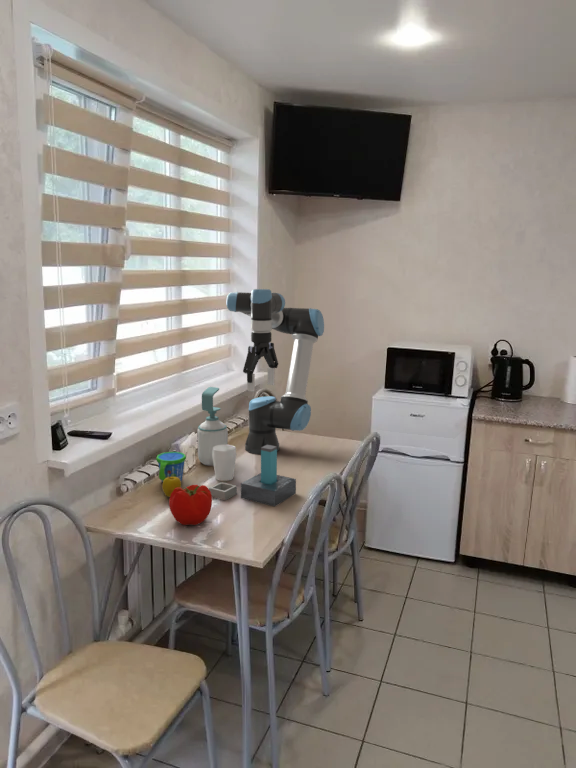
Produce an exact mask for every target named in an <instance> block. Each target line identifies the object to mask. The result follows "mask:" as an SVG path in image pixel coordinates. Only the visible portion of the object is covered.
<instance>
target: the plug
mask: <svg viewBox="0 0 576 768" xmlns="http://www.w3.org/2000/svg"><path fill="white" fill-rule="evenodd" d="M277 466H278V451H277V446H272V445H265V446H263V447H261V454H260V473H261V483H265V484H269V485H272V484H274V483H275V482H277V475H278V472H277V471H278V468H277Z"/></svg>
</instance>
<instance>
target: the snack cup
mask: <svg viewBox="0 0 576 768" xmlns="http://www.w3.org/2000/svg"><path fill="white" fill-rule="evenodd" d="M186 459H187V456H186V454H185V453H184V452H179V451H165V452H161V453H159V454H157V455H156V462H157V464H158V469H159V470H158V471H159V472H158V479H159V480H160V481H161V483H162V482H163V481H164V479H165V478H167V477H168V476H169V477H178V478H179V479H180V481H181V482H182V481H183V477H184V476H183V475H184V469H185V468H184V467H185V461H186Z"/></svg>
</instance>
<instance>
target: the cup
mask: <svg viewBox="0 0 576 768" xmlns="http://www.w3.org/2000/svg"><path fill="white" fill-rule="evenodd" d="M212 457H213V464H214V466H213V468H214V476H215V479H216V480H218V481H220V482H226V481H227V482H228V481H231V480H233V478H234V475H235V468H236V459H237V447H236V446H235V445H233V444H228V445H226V444H224V445H217V446H214V447H213V453H212Z"/></svg>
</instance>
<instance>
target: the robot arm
mask: <svg viewBox="0 0 576 768" xmlns="http://www.w3.org/2000/svg"><path fill="white" fill-rule="evenodd" d="M225 302H226V303H225V304H226V307H227V308H226V309H227V310H228V311H229V312H234V313H238V312H239V313H242V314H244V315H247V316H249V317H250V320H251V321H250V324H251V329H250V330H251V332H250V337H251V338H250V341H251V343H253V346H252V345H249V346H248V347H247V355H246V359H245V362H244V366H243V369H242V372H243V373H244V374H246V382H247V389H246V390H247V392H255V390H256V389H255V388H256V386H255V385H256V381H255V379H256V378H255V377H256V375H255V373H254V372H255V370H256V368H257V365H258V362H259V360H260V359H261V358H264V360H265V362H266V364H267V366H268V367H267V385H269V386H275V385H276V384H275V381H276V380H275V377H276V375H275V374H276V373H275V371H276V369H277V368H278V366H279V361H278V358H277V354H276V353H277V352H276V351H275V344H274V342H272V332H271V331H272V330H274V331H277V332H279V333H282V334H287V335H290V336H291V338H292V340H293V346H292V352H291V357H290V363H289V370H288V375H287V382H286V389H285V393H284V394H283V395H281V396H280V397H281V398H280V400H279V401H278V400H277V399H276V396H272V395H270V396H269V395H268V396H261V397H256V398H252V399H251V400H250V401H249V404H248V434H247V437H246V440H245V444H244V450H245V451H246V453H250V454H255V455H256V454H257V455H261V447H263V446H265V445H272V446H277V452H279V451H280V442H279V439H278V435H277V432H276V429H278V430H279V429H281V430H289V431H298V432H300V431H304V430H305V428H307V427H308V424H309V422H310V420H311V416H312V408H311V405H310V404H308V403H309V401H308V399H307V398H306V392H307V387H308V380H309V375H310V367H311V361H312V355H313V350H314V344H315V343H316V342H318V339H319V337H321V336H323V335H324V333H325V321H324V315H323V314H322V311H320V309H316V308H312V307H309V308H301V307H285V306H286V299H285V297H284V296H283V295H282V294H281V293H278V292H272V290H271V289H267V288H254V289H252V290H251V292H242V291H241V292H239V291H235V292H233V291H232V292H229V293H228V294H227V296H226V301H225Z"/></svg>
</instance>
